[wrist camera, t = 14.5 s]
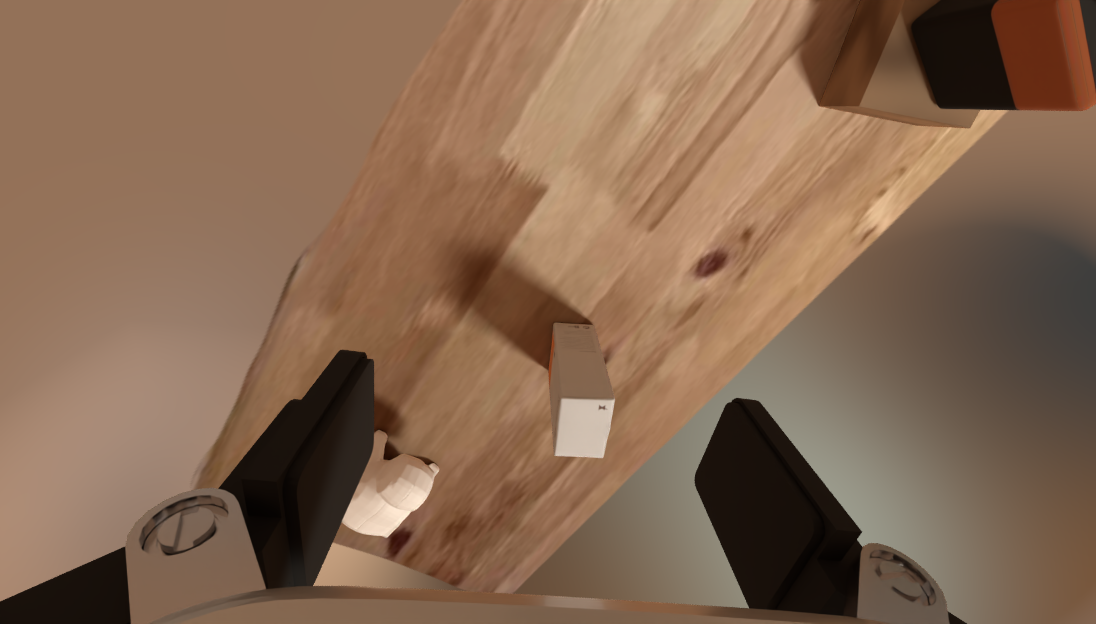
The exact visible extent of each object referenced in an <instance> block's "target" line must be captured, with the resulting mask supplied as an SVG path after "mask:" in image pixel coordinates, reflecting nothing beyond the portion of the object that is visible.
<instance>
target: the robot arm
mask: <svg viewBox="0 0 1096 624" xmlns="http://www.w3.org/2000/svg"><path fill="white" fill-rule="evenodd" d="M373 446H374V361H373V359H367V355H366V353H365V352H357V351H349V350H340V351H339V352H338V353H337V354H336V356H335V357H334V358H333V359H332V361H331V362H330V363H329V365H328V366H327V367H326V369H325V370H324V371H323V372H322V374H321V375H320V376H319V378H318V379H317V380H316V382H315V383H314V384H313V386H312V387H311V388H310V389H309V391H308V392H307V393H306V395H305V396H304V397H303V399H302V400H298V399H293V400H291V401H289V402H288V403H287V404H286V405H285V407H284V408H283V409H282V410H281V412H280V413H279V414H278V415H277V417H276V418H275V419H274V420H273V422H272V423H271V424H270V425H269V426H268V428H267V429H266V430H265V431H264V433H263V434H262V435H261V436H260V438H259V439H258V440H257V441H256V443H255V444H254V445H253V446H252V448H251V449H250V450H249V451H248V452H247V454H246V455H245V456H244V457H243V459H242V460H241V461H240V462H239V464H238V465H237V466H236V467H235V469H234V470H233V471H232V472H231V474H230V475H229V476H228V477H227V479H226V480H225V481H224V482H223V483H222V485H221V486H220V487H219V488H218V489H215V488H205V489H195V490H192V491H188V492H185V493H181V494H178V495H176V496H174V497H171V498H169V499H167V500H165V501H163V502H161V503H160V504H158V505H157V506H155V507H154V508H152V509H151V510H149V511H148V512H147V513H145V514H144V515H143V517H141V518H140V519H139V520H138V521H137V522H136V523H135V525H134V526H133V528H132V529H131V531H130V532H129V534H128V536H127V541H126V546H125V547H123V548H121V549H118V550H116V551H114V552H111V553H109V554H107V555H105V556H102V557H100V558H98V559H96V560H93V561H91V562H89V563H87V564H84V565H82V566H80V567H77V568H75V569H73V570H71V571H69V572H66V573H64V574H62V575H59V576H57V577H55V578H53V579H50V580H48V581H46V582H43V583H41V584H39V585H37V586H35V587H32V588H30V589H28V590H25V591H23V592H21V593H19V594H16V595H14V596H12V597H10V598H7V599H5V600H3V601H0V624H967V623H965V622H964V621H962V620H960V619H959V618H957V617H956V616H954V615H953V614H951V613H949V612H948V611H947V604H946V600H945V597H944V595H943V592H942V591H941V589H940V588H939V586H938V584H937V583H936V581H935V580H934V579H933V578H932V577H931V576H930V575H929V574H928V573H927V572H926V571H925V570H924V569H923V568H922V567H921V566H920V565H918V564H917V563H916V562H915V561H914V560H912V559H910V558H909V557H908V556H906V555H904V554H903V553H901V552H899V551H897V550H895V549H893V548H891V547H888V546H886V545H882V544H878V543H869V544H867V545H865V546H863V547H862V546H861V545H860V543H859V542H858V541H857V538H858V537H859V536H860V534H861V533H862V531H861V530H860V529H859V527H858V526H857V525H856V524H855V522H854V521H853V520H852V518H851V517H850V516H849V515H848V514H847V512H846V511H845V510H844V508H843V507H842V506H841V504H840V503H839V502H838V501H837V499H836V498H835V497H834V496H833V494H832V493H831V492H830V491H829V489H828V488H827V487H826V485H825V484H824V483H823V482H822V480H821V479H820V478H819V477H818V475H817V474H816V473H815V471H813V469H812V468H811V466H810V465H809V464H808V463H807V461H806V460H805V459H804V458H803V456H802V455H801V454H800V452H799V451H798V450H797V449H796V447H795V446H794V445H793V443H792V442H791V441H790V440H789V438H788V437H787V436H786V435H785V433H784V432H783V431H782V430H781V428H780V427H779V426H778V424H777V423H776V422H775V421H774V419H773V418H772V417H771V416H770V414H769V413H768V412H767V411H766V409H765V408H764V407H763V406H762V404H761V403H760V402H759V401H756V400H750V399H741V398H736V399H734V400H732V402H730V403H727V404H726V406H725V408H724V410H723V412H722V414H721V417H720V419H719V421H718V424H717V426H716V428H715V430H714V433H713V435H712V437H711V440H710V442H709V444H708V447H707V448H706V451H705V453H704V455H703V457H702V460H701V462H700V464H699V467H698V469H697V471H696V474H695V486H696V489H697V491H698V493H699V495H700V498H701V500H702V502H703V504H704V507H705V509H706V511H707V514H708V516H709V518H710V521H711V523H712V525H713V527H714V529H715V532H716V534H717V536H718V538H719V541H720V543H721V545H722V548H723V550H724V552H725V554H726V557H727V559H728V561H729V563H730V566H731V568H732V570H733V573H734V575H735V577H736V579H737V581H738V584H739V586H740V588H741V590H742V593H743V595H744V597H745V600H746V602H747V604H748V606H749V609H748V608H735V607H719V606H705V605H704V606H703V605H689V604H675V603H674V604H673V603H659V602H642V601H626V600H610V599H592V598H577V597H559V596H543V595H525V594H507V593H489V592H471V591H453V590H434V589H413V588H386V587H359V586H313V585H314V583H315V580H316V578H317V576H318V574H319V572H320V569H321V567H322V564H323V563H324V560H325V558H326V556H327V553H328V551H329V549H330V547H331V544H332V542H333V540H334V538H335V536H336V533H337V531H338V529H339V527H340V524H341V522H342V520H343V518H344V515H345V513H346V511H347V509H348V506H349V504H350V502H351V500H352V498H353V495H354V493H355V491H356V489H357V486H358V484H359V482H360V480H361V477H362V475H363V473H364V471H365V468H366V466H367V464H368V462H369V459H370V457H371V454H372V451H373Z"/></svg>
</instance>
